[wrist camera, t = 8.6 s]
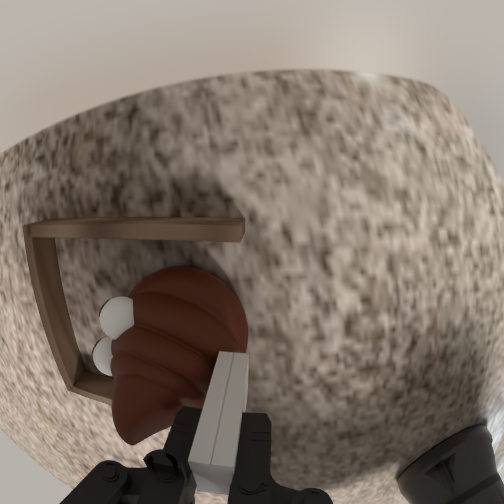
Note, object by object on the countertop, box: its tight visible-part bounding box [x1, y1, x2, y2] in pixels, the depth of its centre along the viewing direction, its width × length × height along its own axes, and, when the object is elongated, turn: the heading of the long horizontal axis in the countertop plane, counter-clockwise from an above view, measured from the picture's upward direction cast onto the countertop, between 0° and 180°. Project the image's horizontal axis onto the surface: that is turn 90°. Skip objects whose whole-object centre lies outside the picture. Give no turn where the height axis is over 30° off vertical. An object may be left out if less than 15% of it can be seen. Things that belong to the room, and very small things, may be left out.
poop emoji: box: [92, 266, 248, 445], centre depth 13 cm, size 10×8×9 cm
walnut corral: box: [23, 217, 245, 409], centre depth 17 cm, size 16×15×2 cm
